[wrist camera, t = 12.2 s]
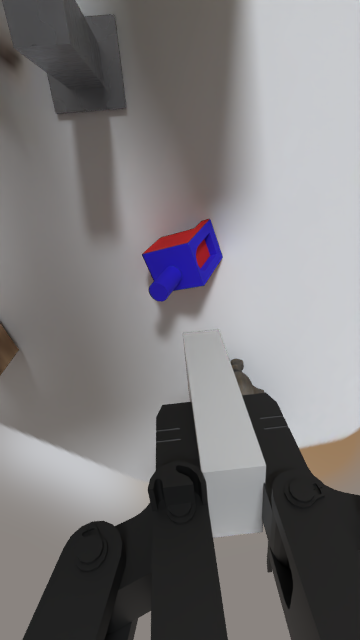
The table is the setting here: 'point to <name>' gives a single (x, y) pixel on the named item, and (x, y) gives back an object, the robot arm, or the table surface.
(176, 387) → the table surface
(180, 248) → the toy building block
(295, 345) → the table surface
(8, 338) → the gate
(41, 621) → the robot arm
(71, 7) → the post
